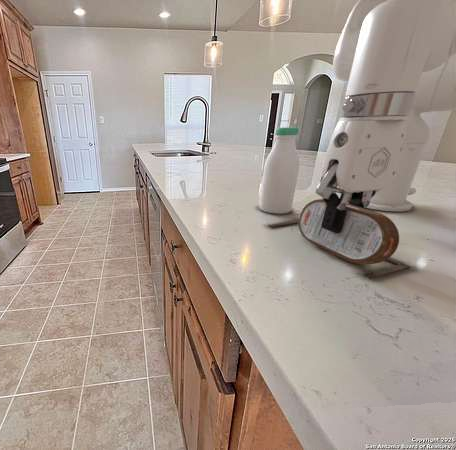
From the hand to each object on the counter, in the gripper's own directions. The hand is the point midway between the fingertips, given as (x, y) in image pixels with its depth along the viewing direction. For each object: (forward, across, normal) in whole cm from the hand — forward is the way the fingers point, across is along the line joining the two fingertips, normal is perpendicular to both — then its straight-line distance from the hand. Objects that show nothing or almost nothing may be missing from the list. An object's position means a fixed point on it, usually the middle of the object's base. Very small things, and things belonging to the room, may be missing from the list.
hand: (339, 227), depth 41 cm
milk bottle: (+4, +6, +22) cm, 23 cm away
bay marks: (+4, +1, +2) cm, 5 cm away
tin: (+4, -1, 0) cm, 4 cm away
